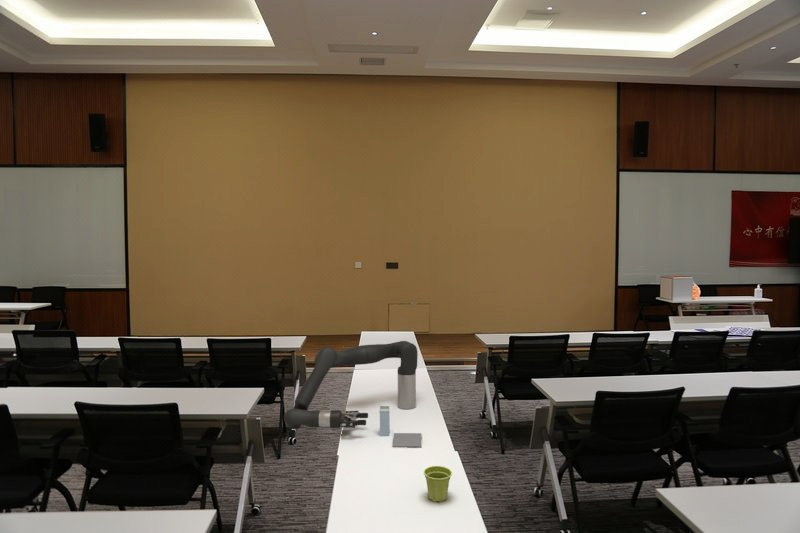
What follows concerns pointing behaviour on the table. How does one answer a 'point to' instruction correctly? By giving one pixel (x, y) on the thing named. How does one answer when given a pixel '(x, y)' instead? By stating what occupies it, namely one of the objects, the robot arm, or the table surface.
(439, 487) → the plant pot
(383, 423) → the blue block
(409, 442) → the mat
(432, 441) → the table surface
